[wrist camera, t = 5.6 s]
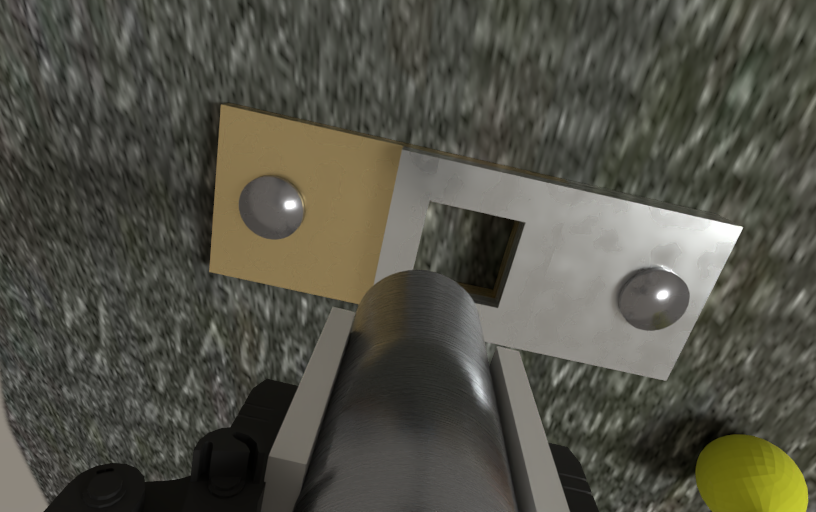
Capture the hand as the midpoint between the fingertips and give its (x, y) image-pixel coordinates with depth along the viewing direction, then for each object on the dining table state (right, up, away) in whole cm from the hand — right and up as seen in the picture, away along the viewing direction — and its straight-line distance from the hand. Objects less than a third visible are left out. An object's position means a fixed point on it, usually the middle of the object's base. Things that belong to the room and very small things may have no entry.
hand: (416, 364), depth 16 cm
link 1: (-2, +6, +19) cm, 20 cm away
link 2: (+9, +3, +19) cm, 22 cm away
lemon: (+26, -13, +25) cm, 38 cm away
